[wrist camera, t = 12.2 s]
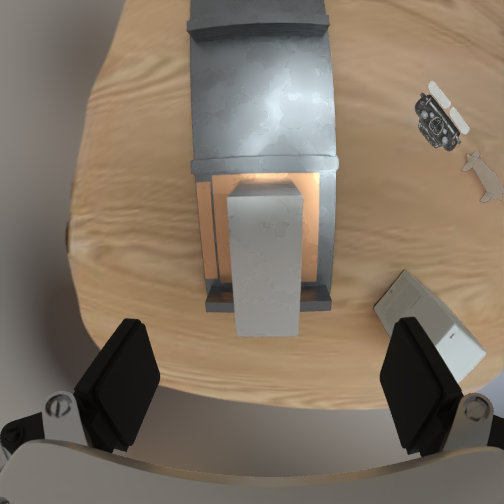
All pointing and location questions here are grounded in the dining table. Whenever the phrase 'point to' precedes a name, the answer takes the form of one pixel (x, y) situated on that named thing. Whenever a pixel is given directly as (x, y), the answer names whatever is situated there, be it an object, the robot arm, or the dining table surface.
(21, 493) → the robot arm
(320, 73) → the slot rack
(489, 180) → the car cutout
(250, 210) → the panel
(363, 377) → the dining table surface
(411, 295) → the small box
